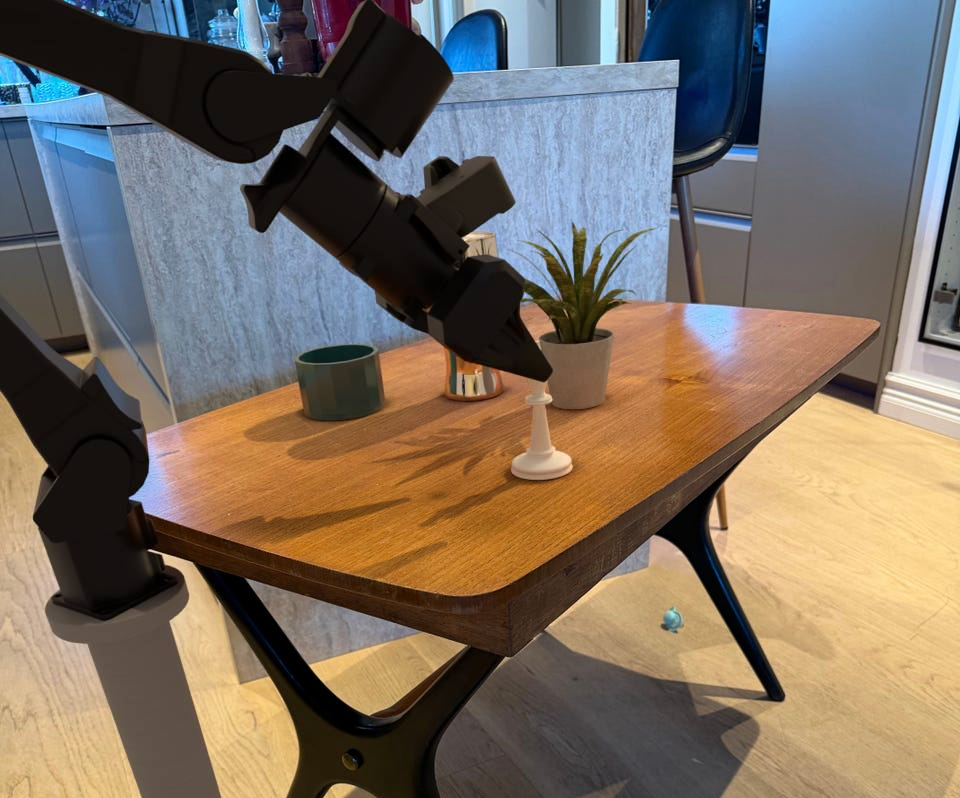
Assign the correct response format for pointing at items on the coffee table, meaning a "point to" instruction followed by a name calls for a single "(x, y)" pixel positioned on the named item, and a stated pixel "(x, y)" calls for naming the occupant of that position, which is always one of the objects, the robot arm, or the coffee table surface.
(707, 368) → the coffee table surface
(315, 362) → the pot
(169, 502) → the coffee table surface
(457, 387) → the beer glass
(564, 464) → the chess piece
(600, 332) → the house plant
